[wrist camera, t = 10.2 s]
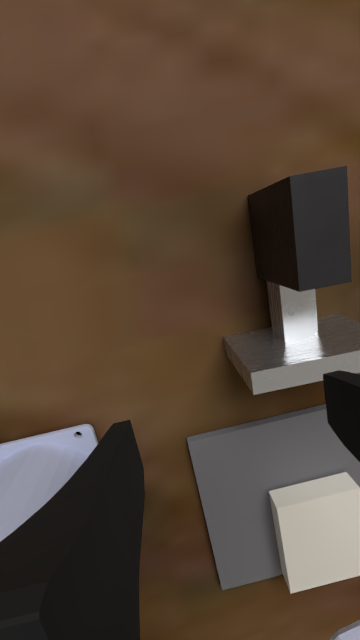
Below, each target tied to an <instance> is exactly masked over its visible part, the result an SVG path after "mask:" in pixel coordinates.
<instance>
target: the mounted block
mask: <svg viewBox="0 0 360 640" xmlns="http://www.w3.org/2000/svg"><path fill="white" fill-rule="evenodd" d="M248 203H249V212H250V220H251V229H252V237H253V246H254V254H255V263H256V272H257V278H260V279H263V280H266V281H267V288H268V297H269V306H270V316H271V325H272V327H270V328H265V329H260V330H255V331H250V332H245V333H240V334H235V335H230V336H225V337H223V338H224V345H225V352H226V355H227V356H228V358H229V359H230V361H231V362H232V364H233V365H234V366H235V368H236V369H237V371H238V372H239V374H240V375H241V377H242V378H243V380H244V381H245V383H246V384H247V386H248V387H249V389H250V390H251V392H252V393H253V395H256V394H261V393H266V392H270V391H275V390H280V389H285V388H289V387H294V386H299V385H304V384H308V383H313V382H318V381H323V374H325V373H329V372H334V371H338V370H340V371H346V372H351V373H355V374H356V373H360V322H358V321H356V320H353V319H350V318H348V317H345V316H343V315H340V314H335V315H330V316H325V317H320V318H317V310H316V296H315V289H317V288H322V287H327V286H332V285H337V284H342V283H347V282H351V259H350V234H349V210H348V185H347V166H344V167H339V168H333V169H327V170H322V171H316V172H311V173H305V174H300V175H294V176H289V177H287V178H285V179H283V180H281V181H279V182H276V183H274V184H272V185H270V186H268V187H266V188H263V189H261V190H259V191H257V192H255V193H253V194H251V195H248Z"/></svg>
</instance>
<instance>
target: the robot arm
mask: <svg viewBox="0 0 360 640" xmlns="http://www.w3.org/2000/svg"><path fill="white" fill-rule="evenodd" d="M323 381H324V391H325V401H326V411H327V420H328V424H329V425H330V427H331V428H332V430H333V431H334V432H335V434H336V435H337V437H338V438H339V439H340V441H341V442H342V443H343V445H344V446H345V447H346V448H347V449H348V450H349V451H350V452H351V454H352V455H353V456H354V457H355V458H356V459H357V460H358V461H359V462H360V375H359V374H355V373H351V372H346V371H340V370H338V371H334V372H329V373H325V374H323ZM76 432H81V433H82V435H77V434H76ZM144 497H145V491H144V470H143V464H142V461H141V457H140V454H139V450H138V447H137V443H136V439H135V436H134V432H133V429H132V425H131V422H130V420H127V421H123V422H118V423H114V424H113V425H112V426H111V427H110V428H109V430H108V431H107V432H106V434H105V435H104V437H103V438H102V439H101V441H100V442H99V443H98V441H97V437H96V434H95V431H94V428H93V427H92V426H91V425H89V424H83V425H79V426H74V427H70V428H66V429H62V430H58V431H53V432H49V433H45V434H41V435H36V436H32V437H28V438H24V439H19V440H15V441H11V442H7V443H2V444H0V640H140V624H139V562H140V549H141V537H142V524H143V511H144ZM330 640H360V620H359V621H356V622H354V623H352V624H350V625H348V626H346V627H344V628H342V629H340V630H338V631H337V632H336V633H335V634H334V635H333V636H332V637H331V639H330Z"/></svg>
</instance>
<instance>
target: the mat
mask: <svg viewBox="0 0 360 640" xmlns="http://www.w3.org/2000/svg"><path fill="white" fill-rule="evenodd" d="M187 442H188V446H189V451H190V455H191V459H192V463H193V468H194V472H195V476H196V481H197V485H198V489H199V493H200V498H201V502H202V506H203V510H204V515H205V519H206V523H207V528H208V532H209V536H210V540H211V545H212V549H213V553H214V557H215V562H216V566H217V570H218V574H219V579H220V583H221V587H222V590H225V589H229V588H233V587H237V586H241V585H245V584H249V583H252V582H256V581H260V580H264V579H268V578H272V577H276V576H279V575H283V573H282V568H281V562H280V556H279V550H278V545H277V539H276V533H275V527H274V521H273V515H272V509H271V503H270V497H269V491H271V490H275V489H279V488H283V487H287V486H291V485H295V484H299V483H303V482H307V481H311V480H315V479H319V478H323V477H327V476H331V475H335V474H339V473H343V472H347V473H348V474H349V476H350V477H351V478H352V479H353V480H354V481H355V483H356V484H357V485H358V486H359V487H360V462H359V461H358V460H357V459H356V458H355V457H354V456H353V455H352V454H351V452H350V451H349V450H348V449H347V448H346V447H345V446H344V445H343V443H342V442H341V441H340V439H339V438H338V437H337V435H336V434H335V432H334V431H333V430H332V428H331V427H330V425H329V424H328V420H327V411H326V404H323V405H319V406H315V407H311V408H307V409H302V410H298V411H294V412H290V413H286V414H282V415H277V416H273V417H269V418H265V419H261V420H257V421H253V422H248V423H244V424H240V425H236V426H232V427H228V428H223V429H219V430H215V431H211V432H207V433H203V434H198V435H194V436H190V437H187Z"/></svg>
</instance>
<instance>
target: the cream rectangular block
mask: <svg viewBox="0 0 360 640" xmlns="http://www.w3.org/2000/svg"><path fill="white" fill-rule="evenodd" d="M269 497H270V503H271V509H272V515H273V521H274V527H275V533H276V539H277V545H278V550H279V556H280V562H281V568H282V573H283V576H284V578H285V581H286V583H287V586H288V588H289V591H290V593H295V592H299V591H303V590H306V589H310V588H314V587H318V586H322V585H326V584H329V583H333V582H337V581H341V580H345V579H348V578H352V577H356V576H360V487H359V486H358V485H357V484H356V483H355V481H354V480H353V479H352V478H351V477H350V476H349V474H348V473H347V472H343V473H339V474H335V475H331V476H327V477H323V478H319V479H315V480H311V481H307V482H303V483H299V484H295V485H291V486H287V487H283V488H279V489H275V490H271V491H269Z"/></svg>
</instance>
